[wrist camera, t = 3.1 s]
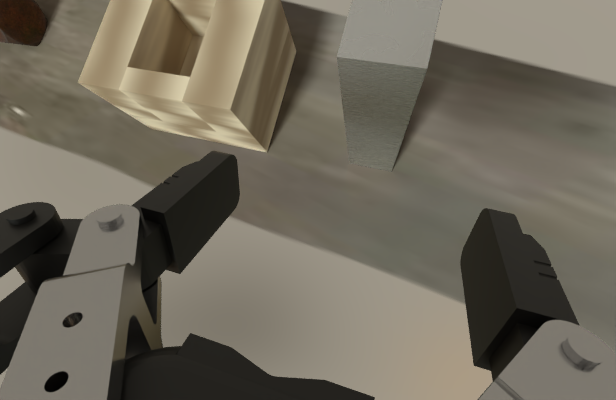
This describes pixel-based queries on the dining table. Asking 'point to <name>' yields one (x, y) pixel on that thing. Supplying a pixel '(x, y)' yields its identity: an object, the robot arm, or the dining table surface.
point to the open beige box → (195, 66)
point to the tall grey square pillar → (383, 74)
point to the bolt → (21, 22)
